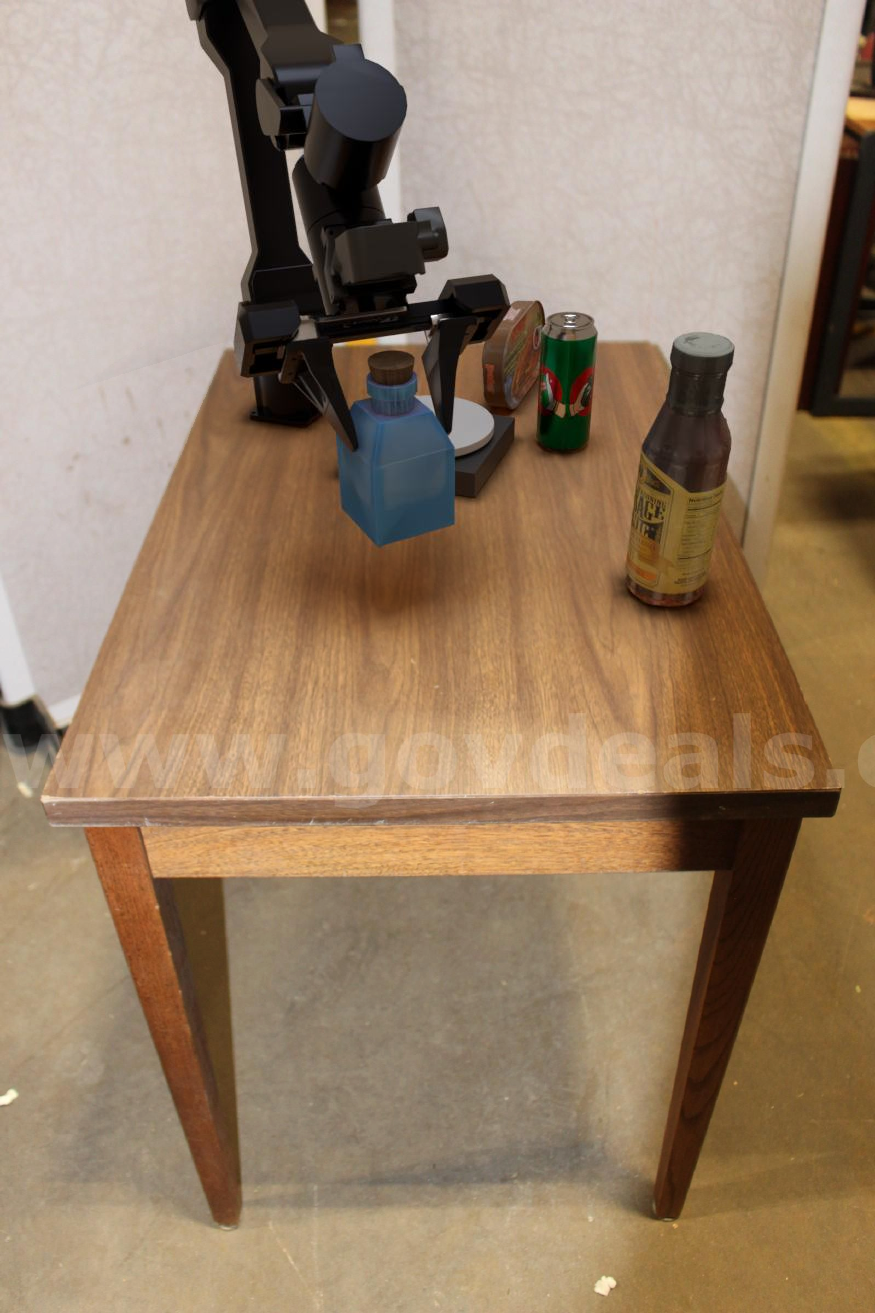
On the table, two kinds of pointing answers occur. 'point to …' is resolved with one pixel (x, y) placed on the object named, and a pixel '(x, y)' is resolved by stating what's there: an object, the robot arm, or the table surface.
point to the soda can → (566, 381)
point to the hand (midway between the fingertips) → (401, 442)
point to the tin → (513, 355)
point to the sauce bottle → (682, 476)
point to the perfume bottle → (396, 458)
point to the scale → (476, 443)
